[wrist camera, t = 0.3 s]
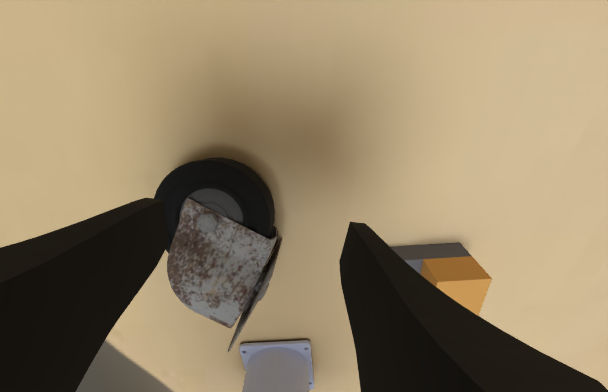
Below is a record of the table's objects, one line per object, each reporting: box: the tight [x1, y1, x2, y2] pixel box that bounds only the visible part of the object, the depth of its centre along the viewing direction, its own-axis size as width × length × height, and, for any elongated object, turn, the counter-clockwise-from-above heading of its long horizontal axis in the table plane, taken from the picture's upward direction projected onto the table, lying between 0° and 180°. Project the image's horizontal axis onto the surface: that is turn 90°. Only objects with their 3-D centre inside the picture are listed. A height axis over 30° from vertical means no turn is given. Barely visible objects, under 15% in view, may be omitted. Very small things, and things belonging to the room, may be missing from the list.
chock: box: [390, 243, 492, 315], centre depth 22 cm, size 4×7×4 cm, turn 94°
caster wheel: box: [154, 158, 282, 352], centre depth 19 cm, size 7×11×10 cm
